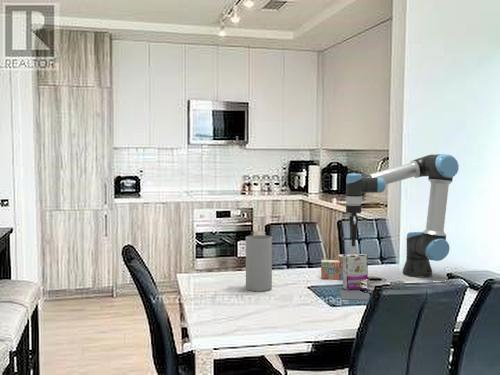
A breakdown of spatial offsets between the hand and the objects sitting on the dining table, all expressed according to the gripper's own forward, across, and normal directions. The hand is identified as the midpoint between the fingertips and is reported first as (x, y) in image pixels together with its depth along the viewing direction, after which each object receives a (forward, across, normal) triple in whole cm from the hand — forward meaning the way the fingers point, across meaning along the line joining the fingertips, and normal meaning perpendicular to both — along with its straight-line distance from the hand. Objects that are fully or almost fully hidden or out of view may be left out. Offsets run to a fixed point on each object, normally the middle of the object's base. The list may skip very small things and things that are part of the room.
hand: (352, 252), depth 251 cm
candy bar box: (+16, +8, 0) cm, 18 cm away
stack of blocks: (+17, -14, -4) cm, 22 cm away
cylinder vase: (+17, +11, -46) cm, 50 cm away
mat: (+16, +20, 0) cm, 25 cm away
